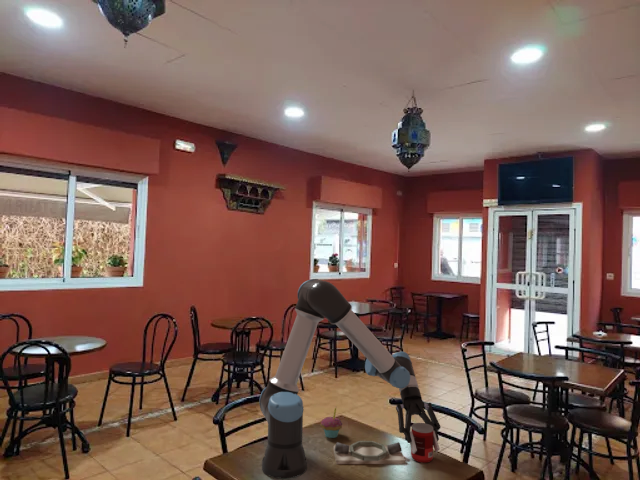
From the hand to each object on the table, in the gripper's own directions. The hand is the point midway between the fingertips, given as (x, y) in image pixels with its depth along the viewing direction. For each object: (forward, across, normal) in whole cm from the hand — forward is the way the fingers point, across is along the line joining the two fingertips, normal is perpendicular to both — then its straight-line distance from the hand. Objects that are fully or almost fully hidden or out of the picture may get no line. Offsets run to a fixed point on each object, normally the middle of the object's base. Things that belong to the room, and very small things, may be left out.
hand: (426, 451), depth 155 cm
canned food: (0, 0, -5) cm, 5 cm away
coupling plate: (-3, +18, -9) cm, 21 cm away
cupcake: (-16, +28, -22) cm, 39 cm away
